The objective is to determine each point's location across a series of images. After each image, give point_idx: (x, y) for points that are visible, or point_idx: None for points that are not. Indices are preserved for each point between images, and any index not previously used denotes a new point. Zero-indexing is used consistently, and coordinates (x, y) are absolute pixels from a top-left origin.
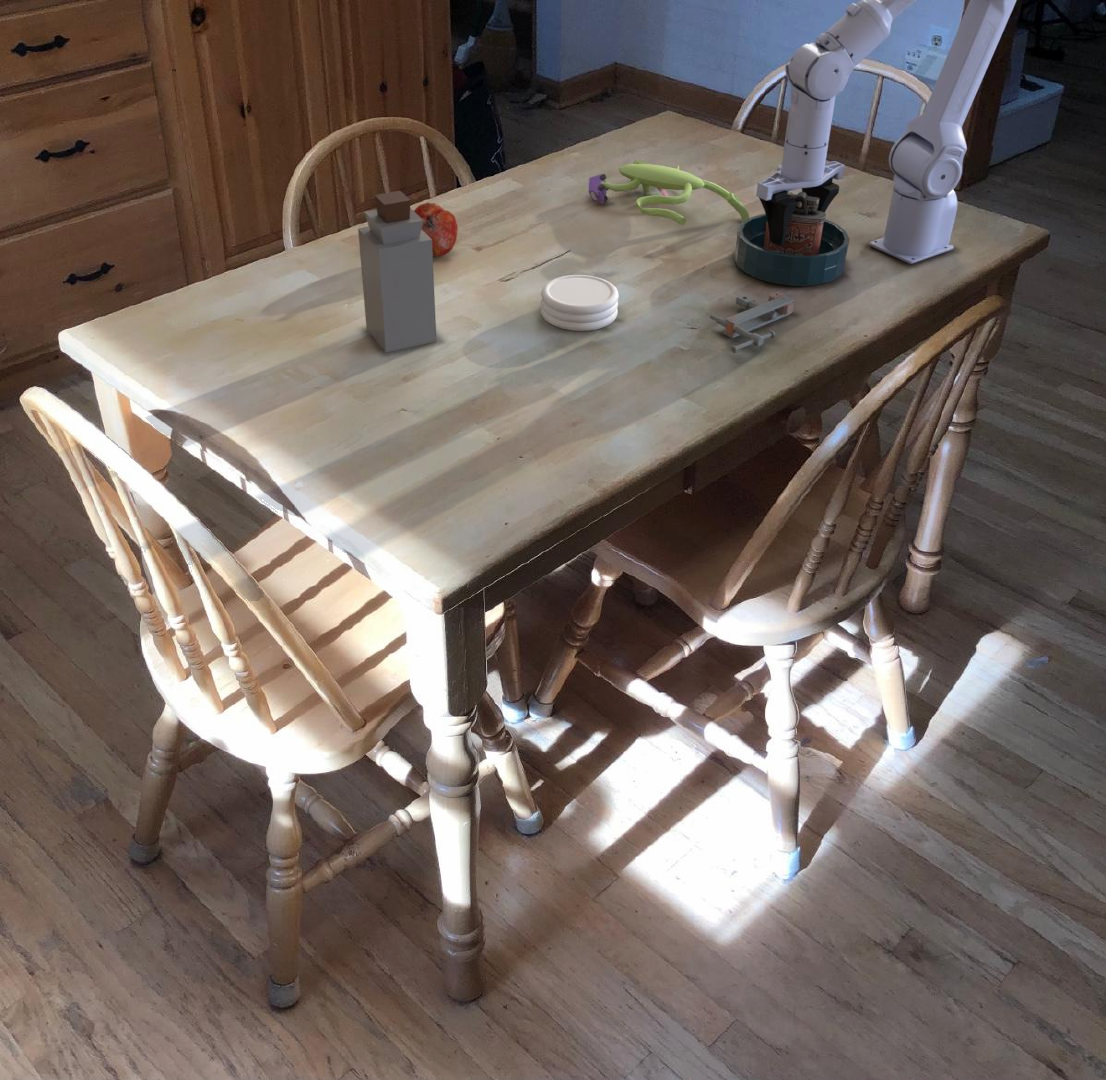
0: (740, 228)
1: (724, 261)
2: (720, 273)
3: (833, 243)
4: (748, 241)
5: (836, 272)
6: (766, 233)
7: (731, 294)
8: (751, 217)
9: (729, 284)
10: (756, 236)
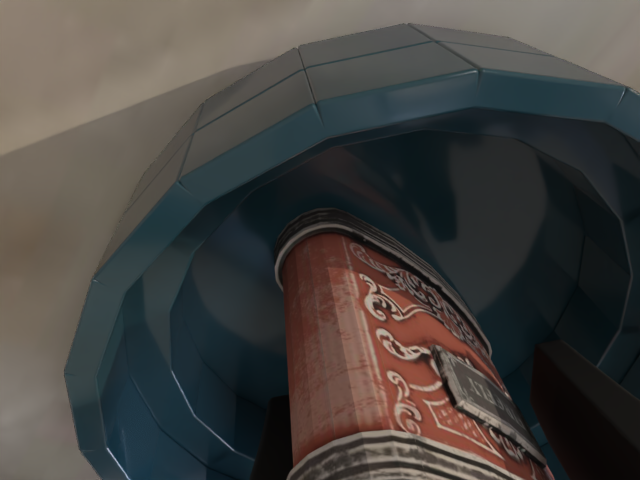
0: (121, 272)
1: (78, 169)
2: (10, 278)
3: (618, 360)
4: (97, 437)
5: None
6: (288, 357)
7: (8, 428)
8: (336, 105)
9: (24, 369)
10: (326, 149)
